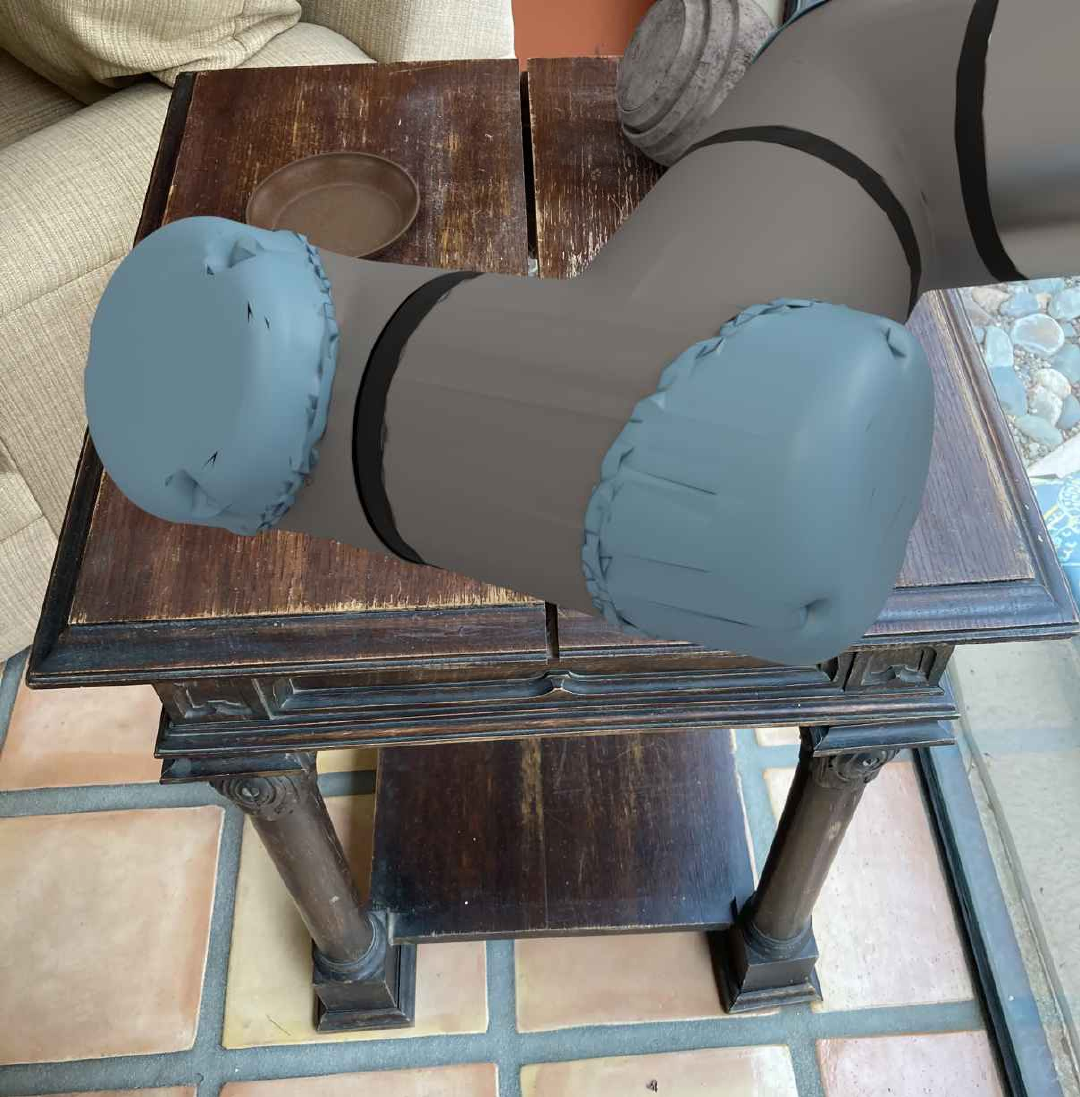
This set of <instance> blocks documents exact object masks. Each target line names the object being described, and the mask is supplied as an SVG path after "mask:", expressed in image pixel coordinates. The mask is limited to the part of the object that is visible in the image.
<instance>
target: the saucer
mask: <svg viewBox="0 0 1080 1097" xmlns="http://www.w3.org/2000/svg"><path fill="white" fill-rule="evenodd" d="M420 201H421V198H420V191H419V188H418V185H417V183H416V181H415V180H414V178H413V176H412V175H411V173H409V172H408V171H407V170H406V169H405V168H404V167H402V166H401V165H399V164H397V163H396V162H394V161H392V160H391V159H388V158H385V157H383V156H380V155H377V154H371V153H367V152H360V151H330V152H323V153H317V154H313V155H310V156H306V157H303V158H299V159H297V160H294V161H292V162H290V163H288V164H285V165H284V166H282V167H279V168H278V169H276V170H275V171H273V172H272V173H270V174H269V175H268V176H267V177H265V178H264V179H263V180H262V181H261V182H260V183H258V185H257V186H256V188H255V189H254V190H253V192H252V193H251V195H250V197H249V199H248V202H247V204H246V208H245V221H246V222H245V223H246V225H250V226H253V227H257V228H260V229H264V230H268V231H271V230H288V231H293V232H296V233H298V234H301V235H304V236H306V237H307V241H308V243H309V244H311V245H314V246H316V247H318V248H321V249H324V250H327V251H330V252H334V253H337V254H341V255H345V256H349V257H354V258H359V259H364V260H369V261H372V259H376V258H377V257H378V256H380V255H381V254H384V253H385V252H386V251H388V250H389V249H391V247H393V246H394V245H396V243H397V242H398V241H400V239H402V238H403V236H404V235H405V234H406V232H408V230H409V229H410V227H411V226H412V224H413V222H414V220H415V218H416V216H417V213H418V211H419V207H420Z"/></svg>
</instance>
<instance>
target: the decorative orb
mask: <svg viewBox="0 0 1080 1097" xmlns="http://www.w3.org/2000/svg"><path fill="white" fill-rule="evenodd" d="M776 30H778V29H777V26H776V25H775V23H774V21H773V20H772V18H771V17H770V16H769V14H768V13H767V12H766V10H765V9H764V8H763V7H762V6H761V5H760V4H759V3H758V2H757V1H756V0H657V1H656V2H655V3H654V4H653V5H652V6H651V7H650V8H649V9H648V10H647V12H646V13H645V15H643V18H642V19H641V20H640V21H639V23H638V25H637V26H636V28H635V30H634V31H633V34H632V35H631V37H630V39H629V41H628V44H627V45H626V47H625V50H624V53H623V55H622V58H621V60H620V65H619V68H618V72H617V76H616V82H615V101H616V105H617V112H618V113H617V114H618V121H619V123H620V124H621V125H620V129H621V130H622V132H623V133H624V135H625V137H626V138H627V140H628V141H629V142H630V144H632V145H633V146H634V147H637V148H639V150H640V151H641V152H642V153H643V154H644V155H646V156H647V157H648V158H649V159H651V160H653V161H655V162H656V163H658V164H660V165H662V166H665V167H667V168H670V167H671V165H672V164H673V162H674V161H675V160H676V159H677V157H678V156H679V155H680V154H681V152H682V151H683V150H684V149H685V147H686V146H687V145H688V144H689V142H690V141H691V140H692V139H693V137H694V136H695V135H696V134H697V132H698V131H699V130H700V129H701V128H702V126H703V125H704V124H705V123H706V121H707V120H708V119H709V118H710V116H711V115H712V114H713V113H714V111H715V110H716V109H717V108H718V106H719V105H720V104H721V103H722V101H723V100H724V99H725V98H726V97H727V95H728V94H729V93H730V92H731V90H732V89H733V88H734V87H735V85H736V84H737V83H738V82H739V80H740V79H741V78H742V77H743V75H744V73H745V72H746V70H747V68H748V66H749V64H750V62H751V61H752V59H753V58H754V57H755V55H756V54H757V53H758V51H759V50H760V48H761V46H762V45H763V43H764V42H765V41H766V40H767V38H768V37H769V36H770V35H771V33H773V32H774V31H776Z"/></svg>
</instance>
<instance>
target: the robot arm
mask: <svg viewBox="0 0 1080 1097" xmlns="http://www.w3.org/2000/svg"><path fill="white" fill-rule="evenodd" d="M1069 277H1070V278H1071V277H1080V0H811V1H810V2H808V3H807V4H805V5H804V6H802V7H800V8H799V9H797V10H796V11H795V12H794V13H793V14H792V16H791V17H790V18H788V20H787V22H785V23H784V24H783V25H782V26H781V27H780V28H778V29H777V30H776V31H774V32H773V33H771V35H770V36H769V37H768V38H767V40H766V41H765V42H764V43H763V45H762V46H761V48H760V50H759V51H758V53H757V54H756V55H755V57H754V58H753V59H752V61H751V62H750V64H749V66H748V68H747V70H746V72H745V73H744V75H743V77H742V78H741V79H740V80H739V82H738V83H737V84H736V85H735V87H734V88H733V89H732V90H731V92H730V93H729V94H728V95H727V97H726V98H725V99H724V100H723V101H722V103H721V104H720V105H719V106H718V108H717V109H716V110H715V111H714V113H713V114H712V115H711V116H710V118H709V119H708V120H707V121H706V123H705V124H704V125H703V126H702V128H701V129H700V130H699V131H698V132H697V134H696V135H695V136H694V137H693V139H692V140H691V141H690V142H689V144H688V145H687V146H686V147H685V149H684V150H683V151H682V152H681V154H680V155H679V156H678V157H677V159H676V160H675V161H674V162H673V164H672V165H671V167H668V169H667V170H666V171H665V172H664V173H663V175H662V176H661V177H660V178H659V179H658V181H657V182H656V183H655V184H654V185H653V187H652V188H651V189H650V190H649V191H648V192H647V193H646V195H645V196H644V197H643V198H642V200H640V201H639V203H638V204H637V205H636V206H635V207H634V208H633V210H632V211H631V212H630V214H629V215H628V216H627V217H626V219H624V221H623V222H622V223H621V224H620V226H618V228H617V229H616V230H615V231H614V233H613V234H612V235H611V236H610V237H609V239H608V240H607V241H606V242H605V243H604V244H603V246H602V247H601V248H600V249H599V251H598V252H597V253H596V255H595V256H594V257H593V258H592V260H591V261H590V262H589V263H588V265H587V266H586V267H585V268H584V269H583V271H582V272H580V273H578V274H577V275H575V276H573V277H569V278H565V279H561V278H550V277H541V276H540V277H539V276H530V275H518V274H511V273H510V274H509V273H498V272H487V271H476V270H462V269H461V270H460V269H451V268H443V267H433V266H424V265H423V266H421V265H413V264H412V265H411V264H403V263H394V262H384V261H376V260H364V259H359V258H354V257H349V256H345V255H341V254H337V253H334V252H330V251H327V250H324V249H321V248H318V247H316V246H314V245H311V244H309V243H308V241H307V237H306V236H304V235H301V234H298V233H296V232H293V231H288V230H271V231H268V230H264V229H260V228H257V227H253V226H250V225H247V223H242V222H238V221H236V220H232V219H228V218H225V217H220V216H213V215H202V216H191V217H184V218H181V219H178V220H175V221H171V222H170V223H167V224H165V225H163V226H161V227H159V228H158V229H156V230H155V231H153V232H151V233H150V234H149V235H148V236H145V238H143V239H142V240H140V241H139V242H138V243H137V244H135V246H134V247H133V248H132V249H131V250H130V251H129V252H128V253H127V255H125V257H124V258H123V259H122V261H121V263H120V264H119V265H118V266H117V268H116V269H115V270H114V272H113V273H112V275H111V277H110V278H109V280H108V282H107V284H106V286H105V288H104V290H103V293H102V295H101V297H100V298H99V302H98V304H97V307H96V310H95V312H94V315H93V318H92V322H91V324H90V328H89V346H88V347H89V348H88V354H87V360H86V365H85V367H84V370H83V392H84V393H83V394H84V396H83V398H84V406H85V413H86V420H87V425H88V430H89V434H90V437H91V440H92V443H93V445H94V448H95V451H96V453H97V455H98V458H99V459H100V462H101V464H102V466H103V468H104V470H105V472H106V473H107V475H108V476H109V477H110V479H111V480H112V481H113V483H114V484H115V486H116V487H117V488H118V489H119V491H120V492H122V493H121V494H123V496H125V497H126V498H127V499H128V500H129V501H130V502H132V503H133V504H134V505H135V506H137V507H138V508H139V509H141V510H143V511H144V512H145V513H147V514H150V515H152V516H155V517H157V518H159V519H161V520H165V521H167V522H170V523H178V524H187V525H193V526H194V525H196V526H204V527H213V528H221V529H223V530H224V529H226V530H227V531H228V532H230V533H233V534H234V535H236V536H246V537H248V536H249V537H253V536H254V537H255V536H257V534H258V533H259V532H260V531H279V532H290V533H297V534H304V535H310V536H313V537H319V538H323V539H328V540H330V541H334V542H337V543H340V544H343V545H347V546H350V547H353V548H357V549H360V550H365V551H367V552H369V553H372V554H373V553H374V554H377V555H381V556H383V557H385V558H386V557H387V558H390V559H394V560H396V561H400V562H403V563H406V564H410V565H415V566H420V567H428V566H429V567H432V568H435V569H438V570H442V571H447V572H450V573H454V574H458V575H460V576H463V577H467V578H469V579H473V580H476V581H480V582H482V583H486V584H489V585H492V586H494V587H499V588H502V589H505V590H508V591H511V592H515V593H518V594H521V595H524V596H527V597H531V598H534V599H537V600H540V601H543V602H546V603H550V604H553V605H556V606H558V607H562V608H565V609H569V610H572V611H575V612H578V613H582V614H585V615H588V616H591V617H594V618H598V619H600V620H605V621H606V622H609V623H611V624H615V625H616V626H617V627H618V628H619V629H620V630H622V631H624V632H626V633H628V634H631V635H634V636H636V637H640V638H646V639H650V640H652V641H656V640H662V641H665V642H684V643H687V644H694V645H697V646H701V647H706V648H710V649H715V650H719V651H724V652H728V653H732V654H738V655H741V656H745V657H750V658H755V659H758V660H764V661H768V662H771V663H776V664H780V665H783V666H796V667H797V666H799V667H803V666H804V667H806V666H814V665H815V666H816V665H819V664H822V663H825V662H828V661H830V660H832V659H835V658H836V657H839V656H841V655H843V654H844V653H845V652H848V651H849V650H850V649H851V648H852V647H853V646H854V645H856V643H858V642H859V640H861V639H862V638H863V637H864V636H866V634H867V633H868V631H869V630H870V629H871V628H872V627H873V625H874V624H875V622H876V621H877V619H878V618H879V616H880V615H881V613H882V612H883V610H884V608H885V606H886V604H887V602H888V600H889V598H890V597H891V594H892V592H893V591H894V588H895V585H896V583H897V581H898V579H899V576H900V574H901V571H902V569H903V565H904V563H905V559H906V554H907V550H908V544H909V540H910V535H911V532H912V529H913V527H914V525H915V523H917V520H918V519H919V518H918V517H919V514H920V512H921V507H922V503H923V499H924V494H925V490H926V486H927V480H928V475H929V470H930V462H931V455H932V449H933V441H934V431H935V401H936V397H935V385H934V377H933V371H932V367H931V363H930V362H929V358H928V354H927V352H926V350H925V349H924V347H923V345H922V344H921V342H920V340H919V339H918V337H917V336H916V335H915V334H914V332H913V331H911V330H910V329H909V328H908V327H906V326H905V325H906V324H907V322H908V321H909V320H910V317H911V315H912V313H913V311H914V309H915V308H916V306H917V304H918V303H919V301H920V299H921V297H922V296H923V294H926V293H929V292H932V291H940V290H941V291H942V290H943V291H944V290H952V289H953V290H954V289H961V288H963V289H964V288H973V287H974V288H975V287H985V286H991V285H998V284H1003V283H1011V282H1023V281H1024V282H1025V281H1026V282H1027V281H1037V280H1047V279H1058V278H1069Z"/></svg>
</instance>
